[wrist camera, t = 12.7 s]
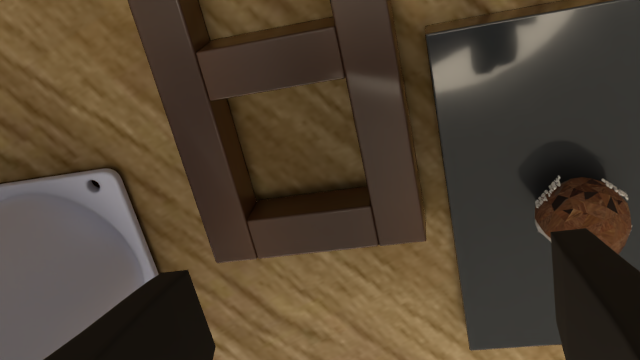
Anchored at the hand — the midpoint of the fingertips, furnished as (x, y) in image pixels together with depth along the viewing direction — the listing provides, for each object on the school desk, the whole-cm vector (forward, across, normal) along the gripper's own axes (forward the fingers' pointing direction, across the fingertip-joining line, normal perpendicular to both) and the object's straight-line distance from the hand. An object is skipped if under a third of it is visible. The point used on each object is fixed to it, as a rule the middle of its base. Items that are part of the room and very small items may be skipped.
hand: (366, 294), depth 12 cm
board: (+9, -6, +3) cm, 11 cm away
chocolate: (+8, -6, +3) cm, 11 cm away
